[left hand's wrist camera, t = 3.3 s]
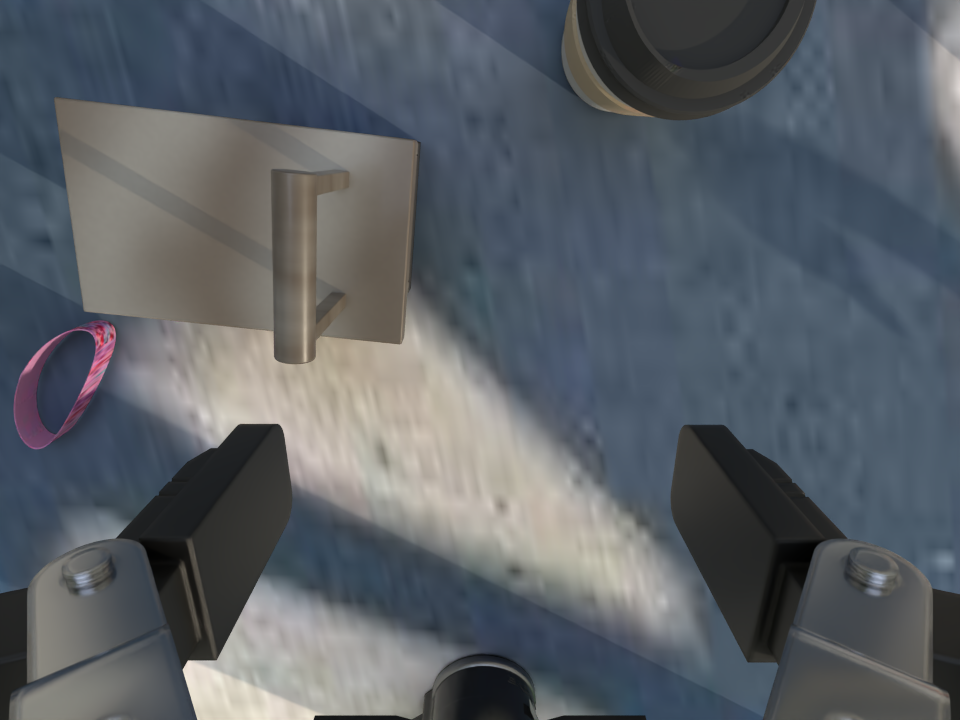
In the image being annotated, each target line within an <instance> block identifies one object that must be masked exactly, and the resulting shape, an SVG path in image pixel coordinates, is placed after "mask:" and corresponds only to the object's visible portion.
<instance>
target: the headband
mask: <svg viewBox="0 0 960 720" xmlns="http://www.w3.org/2000/svg"><path fill="white" fill-rule="evenodd" d="M75 330H84V331H88V332H89V333H91V334H92V335H93V337H94V338H95V342H96V352H95V357H94V361H93V364H92V367H91V370H90V372H89V375H88V377H87V379H86V382H85V384H84V386H83V388H82V390H81V393H80V395H79V397H78V399H77V401H76V403H75V405H74V407H73V408H72V410H71V412H70V414H69V416H68V418H67V419H66V421H65V423H64V424H63V426H62V428H61V429H60V431H59V432H58V433H57V434H52V433H51V432H49V431H48V430H47V429H46V428H45V427H44V425H43V424H42V422H41V419H40V417H39V414H38V409H37V400H36V395H37V385H38V380H39V377H40V373H41V371H42V368H43V366H44V364H45V362H46V360H47V358H48V356H49V355H50V353H51V352H52V351H53V349H54V348H55V347H56V346H57V344H58V343H59V342H60V341H61V340H62V339H63V338H65V337H66V336H67V335H68V334H70V333H71V332H72V331H75ZM115 340H116V332H115V329H114V327H113V325H112V324H111V323H109V322H107V321H102V320H99V321H92V322H89V323H86V324H84V325H81V326H79V327H77V328H74V329H72V330H70V331H67V332H65V333H63V334H61V335H59V336H57V337H55V338H53V339H52V340H50V341H49V342H48V343H46V344H45V345H44V346H43V347H42V348H41V349H40V350H39V351H38V352H37V353H36V354H35V355H34V356H33V357H32V359H31V360H30V361H29V363H28V364H27V366H26V367H25V369H24V370H23V372H22V373H21V375H20V378H19V382H18V385H17V389H16V393H15V399H14V418H15V424H16V427H17V430H18V433H19V435H20V437H21V439H22V440H23V442H24V443H25V444H26V445H27V446H29V447H30V448H33V449H41V448H44V447H45V446H47V445H48V444H50V443H51V442H53V441H54V440H56V439H57V438H59V437H60V436H62V435H63V434H65V433H66V432H68V431H69V430H70V429H71V428H72V427H73V426H74V425H75V424H76V422H77V421H78V420H79V418H80V417H81V415H82V414H83V412H84V410H85V409H86V407H87V405H88V403H89V402H90V400H91V398H92V396H93V394H94V392H95V390H96V388H97V386H98V384H99V382H100V380H101V378H102V376H103V374H104V372H105V370H106V368H107V365H108V363H109V361H110V358H111V355H112V352H113V349H114V345H115Z"/></svg>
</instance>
